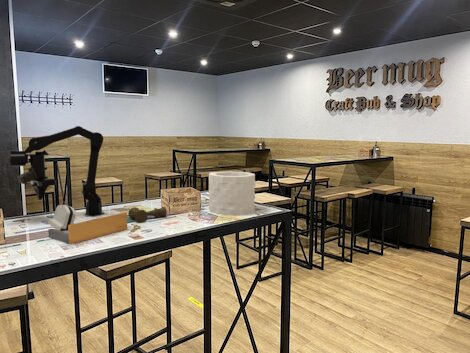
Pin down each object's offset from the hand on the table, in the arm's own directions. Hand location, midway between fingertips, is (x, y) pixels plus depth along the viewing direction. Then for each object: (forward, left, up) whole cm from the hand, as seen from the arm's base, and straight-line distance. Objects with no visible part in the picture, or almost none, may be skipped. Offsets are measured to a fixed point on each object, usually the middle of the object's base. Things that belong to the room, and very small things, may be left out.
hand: (40, 199), depth 164 cm
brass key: (-14, +48, -9) cm, 51 cm away
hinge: (0, +19, -10) cm, 21 cm away
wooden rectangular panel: (0, +36, -9) cm, 38 cm away
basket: (-68, +58, -9) cm, 90 cm away
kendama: (-28, +38, -10) cm, 48 cm away
